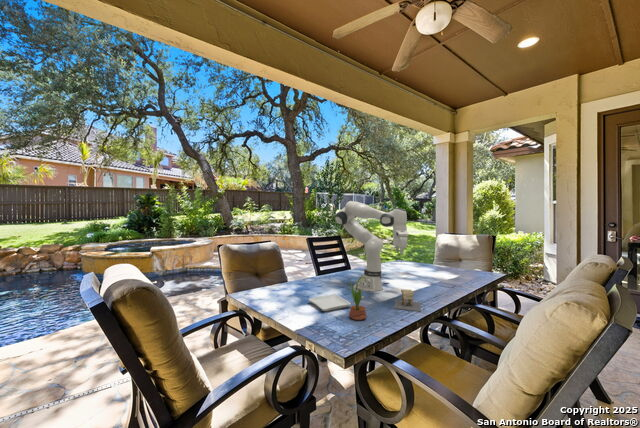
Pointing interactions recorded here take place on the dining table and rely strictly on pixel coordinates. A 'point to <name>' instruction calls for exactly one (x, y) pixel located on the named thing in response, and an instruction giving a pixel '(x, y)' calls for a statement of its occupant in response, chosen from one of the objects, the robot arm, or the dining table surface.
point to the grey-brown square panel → (407, 306)
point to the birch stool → (407, 296)
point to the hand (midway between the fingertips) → (399, 253)
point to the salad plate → (329, 302)
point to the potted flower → (358, 311)
